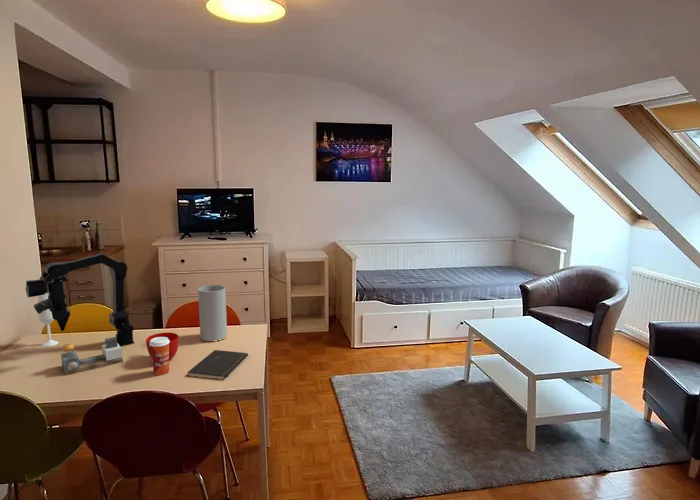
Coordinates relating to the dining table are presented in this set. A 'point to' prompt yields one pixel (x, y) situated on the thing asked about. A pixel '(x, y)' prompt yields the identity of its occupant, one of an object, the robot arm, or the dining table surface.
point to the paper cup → (160, 355)
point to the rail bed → (84, 362)
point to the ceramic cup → (172, 345)
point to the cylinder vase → (212, 312)
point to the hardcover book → (218, 364)
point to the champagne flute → (46, 321)
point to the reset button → (68, 347)
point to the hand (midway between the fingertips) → (61, 327)
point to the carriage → (111, 349)
